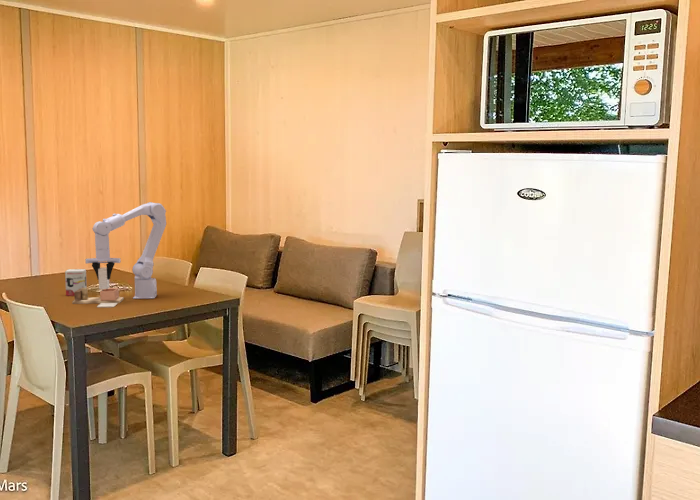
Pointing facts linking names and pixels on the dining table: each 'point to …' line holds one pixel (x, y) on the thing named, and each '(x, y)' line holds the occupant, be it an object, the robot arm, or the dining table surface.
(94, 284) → the dining table surface
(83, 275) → the ink box
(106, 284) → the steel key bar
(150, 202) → the robot arm
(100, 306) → the grey mat
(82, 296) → the birch vise base
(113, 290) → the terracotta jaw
